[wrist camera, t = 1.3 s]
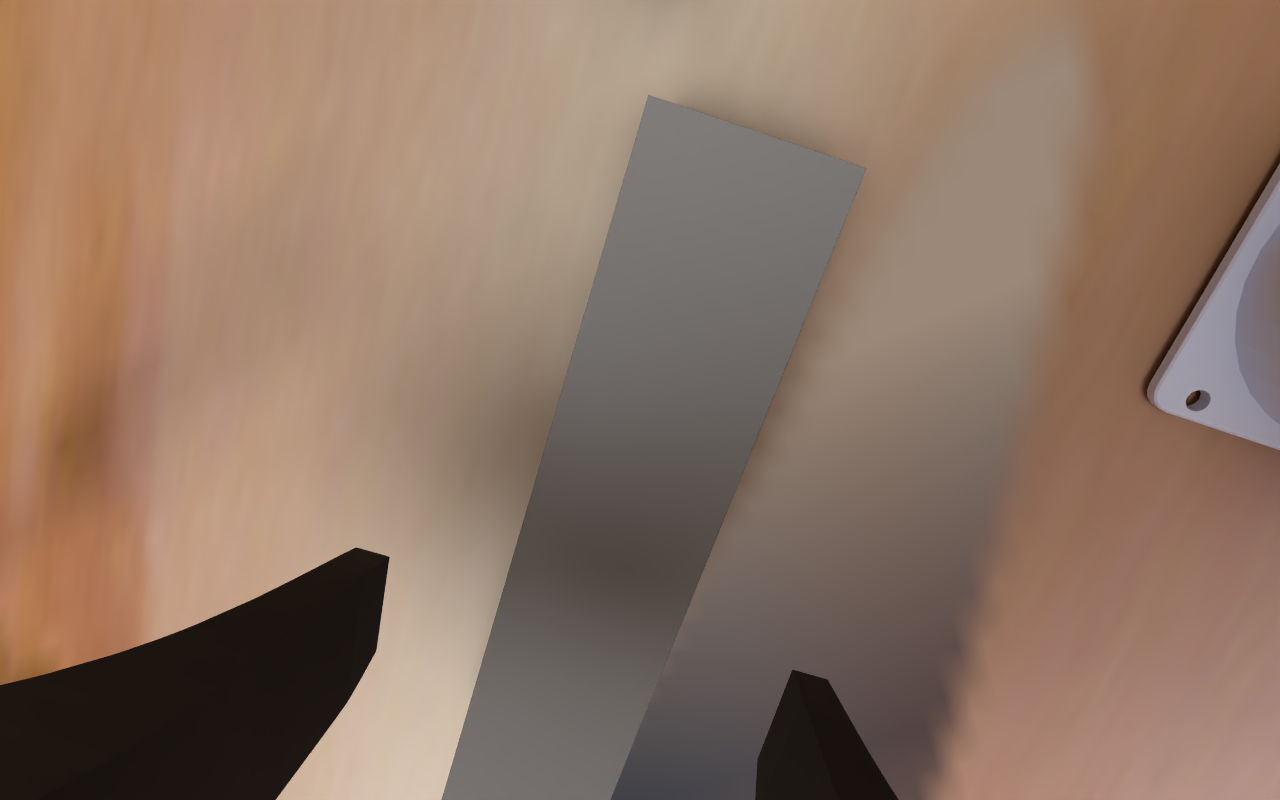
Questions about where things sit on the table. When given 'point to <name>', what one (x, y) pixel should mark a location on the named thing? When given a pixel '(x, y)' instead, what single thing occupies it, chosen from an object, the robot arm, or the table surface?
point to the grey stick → (647, 445)
